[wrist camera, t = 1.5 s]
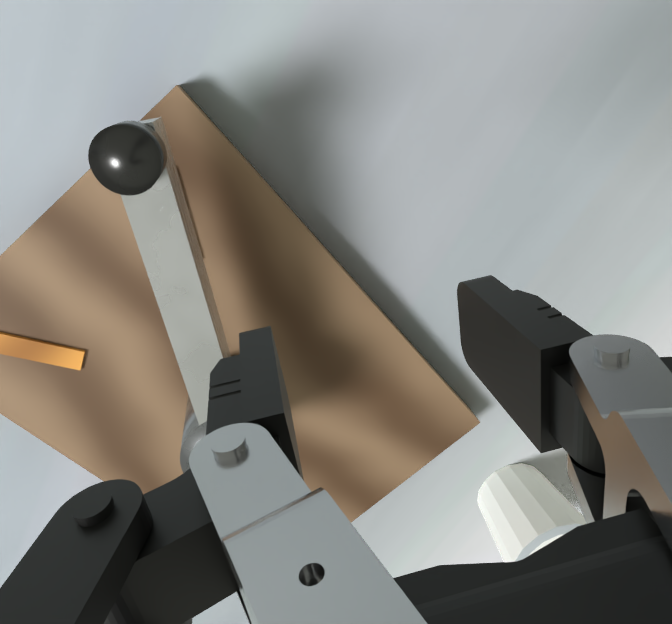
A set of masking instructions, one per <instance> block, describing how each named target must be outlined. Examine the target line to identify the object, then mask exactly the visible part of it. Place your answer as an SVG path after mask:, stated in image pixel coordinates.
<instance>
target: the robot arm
mask: <svg viewBox="0 0 672 624" xmlns="http://www.w3.org/2000/svg"><path fill="white" fill-rule="evenodd" d="M457 297H458V310H459V323H460V336H461V346H462V350H463V354H464V357H465V359H466V362H467V364H468V365H469V367H470V368H471V369H472V371H473V372H474V373H475V374H476V375H477V377H478V378H479V379H480V380H481V381H482V383H483V384H484V385H485V386H486V387H487V389H488V390H489V391H490V392H491V393H492V395H493V396H494V397H495V398H496V399H497V401H498V402H499V403H500V404H501V406H502V407H503V408H504V409H505V410H506V412H507V413H508V414H509V415H510V416H511V418H512V419H513V420H514V421H515V422H516V424H517V425H518V426H519V427H520V428H521V430H522V431H523V432H524V433H525V434H526V436H527V437H528V438H529V439H530V440H531V442H532V443H533V444H534V445H535V447H536V448H537V449H538V450H539V451H540V453H544V452H547V451H551V450H555V449H559V448H562V447H563V448H564V449H565V450H566V451H567V473H568V476H569V479H570V481H571V484H572V487H573V489H574V492H575V495H576V497H577V500H578V503H579V506H580V508H581V511H582V514H583V516H584V519H585V522H586V524H584V525H581V526H577V527H576V528H574V529H572V530H571V531H569V532H567V533H566V534H564V535H562V536H561V537H559V538H557V539H556V540H554V541H553V542H551V543H549V544H548V545H546V546H544V547H543V548H541V549H539V550H538V551H536V552H534V553H533V554H531V555H529V556H528V557H526V558H524V559H522V560H519V561H515V562H501V563H479V564H457V565H439V566H435V567H432V568H428V569H425V570H421V571H418V572H414V573H410V574H407V575H403V576H400V577H396V578H392V576H391V575H390V574H389V572H388V571H387V570H386V568H385V567H384V566H383V564H382V563H381V562H380V561H379V559H378V558H377V557H376V555H375V554H374V553H373V551H372V550H371V549H370V547H369V546H368V545H367V543H366V542H365V541H364V539H363V538H362V537H361V535H360V534H359V533H358V532H357V530H356V529H355V528H354V526H353V525H352V524H351V522H350V521H349V520H348V518H347V517H346V516H345V514H344V513H343V512H342V510H341V509H340V508H339V506H338V505H337V504H336V503H335V501H334V500H333V499H332V497H331V496H330V495H329V494H328V492H327V491H326V490H325V489H323V488H321V487H320V488H318V489H316V490H314V491H312V492H311V490H310V489H309V488H308V486H307V485H306V483H305V482H304V479H303V474H302V468H301V463H300V457H299V452H298V446H297V441H296V435H295V430H294V424H293V419H292V413H291V408H290V403H289V398H288V394H287V390H286V385H285V381H284V377H283V373H282V369H281V365H280V361H279V357H278V353H277V349H276V345H275V341H274V337H273V333H272V329H271V326H267V327H263V328H258V329H254V330H250V331H245V332H241V333H239V350H240V355H235V356H231V357H227V358H223V359H220V360H219V362H218V363H217V364H216V366H215V367H214V368H213V370H212V371H211V373H210V383H209V387H210V389H209V401H208V412H207V426H206V436H205V437H204V438H202V439H201V440H200V441H199V442H198V443H197V444H196V445H195V447H194V448H193V450H192V452H191V454H190V457H189V465H190V469H188V470H187V471H186V472H185V473H183V474H182V475H180V476H179V477H177V478H176V479H174V480H172V481H170V482H168V483H166V484H164V485H162V486H160V487H158V488H156V489H154V490H151V491H149V492H147V493H145V494H143V493H142V491H141V489H140V487H139V486H138V485H137V484H136V483H135V482H132V481H130V480H125V479H115V480H108V481H104V482H101V483H98V484H95V485H93V486H91V487H88V488H86V489H84V490H83V491H81V492H79V493H78V494H76V495H75V496H73V497H72V498H71V499H69V500H68V501H67V502H66V503H65V504H64V505H62V506H61V507H60V508H59V510H58V511H57V512H56V513H55V515H54V516H53V517H52V519H51V520H50V521H49V523H48V524H47V525H46V527H45V528H44V529H43V531H42V532H41V534H40V535H39V536H38V538H37V539H36V540H35V542H34V543H33V544H32V546H31V547H30V549H29V550H28V551H27V553H26V554H25V555H24V557H23V558H22V559H21V561H20V562H19V564H18V565H17V566H16V568H15V569H14V570H13V572H12V573H11V574H10V576H9V577H8V579H7V580H6V581H5V583H4V584H3V585H2V587H1V588H0V624H192V618H193V617H194V616H196V615H198V614H199V613H201V612H203V611H204V610H206V609H208V608H210V607H211V606H213V605H215V604H216V603H218V602H220V601H221V600H223V599H225V598H226V597H228V596H230V595H231V594H233V593H235V592H236V593H237V596H238V598H239V601H240V603H241V605H242V608H243V610H244V613H245V615H246V618H247V620H248V623H249V624H672V357H658V355H657V354H656V353H655V352H654V350H653V349H652V348H651V347H650V346H648V345H647V344H645V343H643V342H641V341H639V340H636V339H633V338H630V337H625V336H620V335H592V334H590V333H589V332H588V331H586V330H585V329H583V328H582V327H581V326H579V325H578V324H576V323H575V322H573V321H572V320H571V319H569V318H568V317H566V316H565V315H563V316H562V313H561V312H559V311H558V310H556V309H555V308H554V307H552V308H551V305H549V304H548V303H547V302H545V301H544V300H542V299H541V298H540V297H538V296H536V295H533V294H529V293H526V292H523V291H520V290H514V291H512V290H511V289H509V288H508V287H507V286H505V285H504V284H503V283H501V282H500V281H499V280H497V279H496V278H495V277H493V276H491V275H490V276H485V277H481V278H477V279H472V280H468V281H464V282H460V283H459V285H458V289H457Z"/></svg>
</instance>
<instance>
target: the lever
mask: <svg viewBox="0 0 672 624" xmlns="http://www.w3.org/2000/svg"><path fill="white" fill-rule="evenodd" d="M88 156H89V164H90V168H91V170H92V172H93V174H94V176H95V177H96V179H97V180H98V181H99V182H100V183H101V184H102V185H103V186H104V187H105V188H107V189H108V190H110V191H112V192H114V193H117V194H120V195H121V198H122V201H123V204H124V207H125V210H126V213H127V215H128V218H129V221H130V224H131V227H132V230H133V233H134V236H135V239H136V242H137V245H138V248H139V251H140V254H141V256H142V259H143V262H144V265H145V268H146V271H147V274H148V277H149V280H150V283H151V286H152V289H153V292H154V295H155V298H156V300H157V303H158V306H159V309H160V312H161V315H162V318H163V321H164V324H165V327H166V330H167V333H168V336H169V339H170V341H171V344H172V347H173V350H174V353H175V356H176V359H177V362H178V365H179V368H180V371H181V374H182V377H183V380H184V382H185V385H186V388H187V391H188V399H187V407H186V414H185V422H184V429H183V436H182V444H181V451H180V465H181V468H182V471H183V473H185V472H186V471H187V470H188V469H190V465H189V457H190V454H191V452H192V450H193V448H194V447H195V445H196V444H197V443H198V442H199V441H200V440H201V439H202V438H204V437H205V436H206V426H207V412H208V401H209V389H210V387H209V383H210V373H211V371H212V370H213V368H214V367H215V366H216V364H217V363H218V362H219V360H220V359H223V358H227V357H231V354H230V350H229V347H228V343H227V340H226V337H225V333H224V330H223V326H222V323H221V319H220V316H219V312H218V309H217V305H216V302H215V299H214V295H213V292H212V288H211V285H210V281H209V278H208V274H207V271H206V268H205V264H204V261H203V257H202V254H201V250H200V247H199V243H198V240H197V237H196V233H195V230H194V226H193V223H192V219H191V216H190V212H189V209H188V205H187V202H186V199H185V195H184V192H183V188H182V185H181V181H180V178H179V174H178V171H177V168H176V164H175V161H174V157H173V154H172V150H171V147H170V143H169V140H168V136H167V133H166V130H165V126H164V123H163V119H162V117H158V118H153V119H148V120H143V121H137V122H136V121H124V122H120V123H117V124H115V125H112V126H110V127H107V128H105V129H103V130H102V131H100V132H99V133H98V134H97V135H96V136H95V137H94V139H93V140H92V142H91V145H90V148H89V154H88Z"/></svg>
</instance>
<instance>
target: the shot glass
mask: <svg viewBox="0 0 672 624" xmlns="http://www.w3.org/2000/svg"><path fill="white" fill-rule="evenodd" d="M477 503H478V505H479V508H480V510H481V512H482V514H483V517H484V519H485V521H486V523H487V526H488V528H489V530H490V532H491V535H492V537H493V539H494V541H495V544H496V546H497V548H498V550H499V552H500V555H501V557H502V559H503V561H504V562H515V561H519V560H522V559H524V558H526V557H528V556H529V555H531V554H533V553H534V552H536V551H538V550H539V549H541V548H543V547H544V546H546V545H548V544H549V543H551V542H553V541H554V540H556V539H557V538H559V537H561V536H562V535H564V534H566V533H567V532H569V531H571V530H572V529H574V528H576V527H577V526H581V525H584V524H586V522H585V519H584V516H583V515H582V514H581V513H580V512H579V511H578V510H577V509H576V508H575V507H574V506H573V505H572V504H571V503H570V502H569V501H568V500H567V499H566V498H565V497H564V496H563V495H562V494H561V493H560V492H559V491H558V490H557V489H556V488H555V486H554V485H553V484H552V483H551V482H550V481H549V480H548V479H547V478H546V477H545V476H544V475H543V474H542V473H541V472H540V471H538V470H537V469H536V468H535V467H534V466H532V465H527V464H523V463H519V464H512V465H507V466H505V467H503V468H501V469H499V470H497V471H495V472H494V473H493V474H491V475H490V476H489V477H488V478H487V479H486V480H485V481H484V483H483V485H482V486H481V488H480V490H479V492H478V500H477Z"/></svg>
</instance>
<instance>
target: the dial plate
mask: <svg viewBox="0 0 672 624" xmlns="http://www.w3.org/2000/svg"><path fill="white" fill-rule="evenodd" d="M158 117H162V119H163V123H164V126H165V130H166V133H167V136H168V140H169V143H170V147H171V150H172V154H173V157H174V161H175V164H176V168H177V171H178V174H179V178H180V181H181V185H182V188H183V192H184V195H185V199H186V202H187V205H188V209H189V212H190V216H191V219H192V223H193V226H194V230H195V233H196V237H197V240H198V243H199V247H200V250H201V254H202V257H203V261H204V264H205V268H206V271H207V274H208V278H209V281H210V285H211V288H212V292H213V295H214V299H215V302H216V305H217V309H218V312H219V316H220V319H221V323H222V326H223V330H224V333H225V337H226V340H227V343H228V347H229V350H230V354H231V356H235V355H240V350H239V333H241V332H245V331H250V330H254V329H258V328H263V327H267V326H271V329H272V333H273V337H274V341H275V345H276V349H277V353H278V357H279V361H280V365H281V369H282V373H283V377H284V381H285V385H286V390H287V394H288V398H289V403H290V408H291V413H292V419H293V424H294V430H295V435H296V441H297V446H298V452H299V457H300V463H301V468H302V474H303V479H304V482H305V483H306V485H307V486H308V488H309V489H310V490H311V492H312V491H314V490H316V489H318V488H320V487H321V488H323V489H325V490H326V491H327V492H328V494H329V495H330V496H331V497H332V499H333V500H334V501H335V503H336V504H337V505H338V506H339V508H340V509H341V510H342V512H343V513H344V514H345V516H346V517H347V518H348V520H349V521H350V522H352V521H354V520H355V519H356V518H358V517H359V516H360V515H361V514H363V513H364V512H365V511H367V510H368V509H369V508H370V507H372V506H373V505H374V504H376V503H377V502H378V501H379V500H381V499H382V498H383V497H385V496H386V495H387V494H389V493H390V492H391V491H392V490H394V489H395V488H396V487H398V486H399V485H400V484H401V483H403V482H404V481H405V480H407V479H408V478H409V477H410V476H412V475H413V474H414V473H416V472H417V471H418V470H420V469H421V468H422V467H423V466H425V465H426V464H427V463H429V462H430V461H431V460H432V459H434V458H435V457H436V456H438V455H439V454H440V453H442V452H443V451H444V450H445V449H447V448H448V447H449V446H451V445H452V444H453V443H454V442H456V441H457V440H458V439H460V438H461V437H462V436H463V435H465V434H466V433H467V432H469V431H470V430H471V429H473V428H474V427H475V426H476V425H478V424H479V423H480V422H479V420H478V419H477V417H476V416H475V415H474V413H473V412H472V411H471V409H470V408H469V407H468V406H467V405H466V404H465V403H464V402H463V401H462V399H461V398H460V397H459V396H458V395H457V394H456V393H455V392H454V390H453V389H452V388H451V387H450V386H449V385H448V384H447V383H446V382H445V380H444V379H443V378H442V377H441V376H440V375H439V374H438V373H437V372H436V370H435V369H434V368H433V367H432V366H431V365H430V364H429V363H428V362H427V360H426V359H425V358H424V357H423V356H422V355H421V354H420V353H419V351H418V350H417V349H416V348H415V347H414V346H413V345H412V344H411V343H410V341H409V340H408V339H407V338H406V337H405V336H404V335H403V334H402V333H401V331H400V330H399V329H398V328H397V327H396V326H395V325H394V324H393V323H392V321H391V320H390V319H389V318H388V317H387V316H386V315H385V314H384V312H383V311H382V310H381V309H380V308H379V307H378V306H377V305H376V304H375V302H374V301H373V300H372V299H371V298H370V297H369V296H368V295H367V294H366V292H365V291H364V290H363V289H362V288H361V287H360V286H359V285H358V283H357V282H356V281H355V280H354V279H353V278H352V277H351V276H350V275H349V273H348V272H347V271H346V270H345V269H344V268H343V267H342V266H341V265H340V263H339V262H338V261H337V260H336V259H335V258H334V257H333V256H332V255H331V253H330V252H329V251H328V250H327V249H326V248H325V247H324V246H323V244H322V243H321V242H320V241H319V240H318V239H317V238H316V237H315V236H314V234H313V233H312V232H311V231H310V230H309V229H308V228H307V227H306V226H305V224H304V223H303V222H302V221H301V220H300V219H299V218H298V217H297V215H296V214H295V213H294V212H293V211H292V210H291V209H290V208H289V207H288V205H287V204H286V203H285V202H284V201H283V200H282V199H281V198H280V197H279V195H278V194H277V193H276V192H275V191H274V190H273V189H272V188H271V187H270V185H269V184H268V183H267V182H266V181H265V180H264V179H263V178H262V176H261V175H260V174H259V173H258V172H257V171H256V170H255V169H254V168H253V166H252V165H251V164H250V163H249V162H248V161H247V160H246V159H245V158H244V156H243V155H242V154H241V153H240V152H239V151H238V150H237V149H236V147H235V146H234V145H233V144H232V143H231V142H230V141H229V140H228V139H227V137H226V136H225V135H224V134H223V133H222V132H221V131H220V130H219V129H218V127H217V126H216V125H215V124H214V123H213V122H212V121H211V120H210V119H209V117H208V116H207V115H206V114H205V113H204V112H203V111H202V110H201V108H200V107H199V106H198V105H197V104H196V103H195V102H194V101H193V100H192V98H191V97H190V96H189V95H188V94H187V93H186V92H185V91H184V90H183V88H182V87H181V86H180V85H176V86H175V87H174V88H173V89H172V90H171V91H170V92H169V93H168V94H167V95H166V96H165V97H164V98H163V99H162V100H161V101H160V102H159V103H158V104H157V105H156V106H155V107H154V108H152V109H151V110H150V111H149V112H148V113H147V114H146V115H145V116H144V117H143V118H142V119H141V120H140V121H143V120H148V119H153V118H158ZM187 399H188V391H187V388H186V385H185V382H184V380H183V377H182V374H181V371H180V368H179V365H178V362H177V359H176V356H175V353H174V350H173V347H172V344H171V341H170V339H169V336H168V333H167V330H166V327H165V324H164V321H163V318H162V315H161V312H160V309H159V306H158V303H157V300H156V298H155V295H154V292H153V289H152V286H151V283H150V280H149V277H148V274H147V271H146V268H145V265H144V262H143V259H142V256H141V254H140V251H139V248H138V245H137V242H136V239H135V236H134V233H133V230H132V227H131V224H130V221H129V218H128V215H127V213H126V210H125V207H124V204H123V201H122V198H121V195H120V194H117V193H114V192H112V191H110V190H108V189H107V188H105V187H104V186H103V185H102V184H101V183H100V182H99V181H98V180H97V179H96V177H95V176H94V174H93V172H92V170H91V168H90V169H89V170H88V171H87V172H86V173H85V174H84V175H83V176H82V177H81V178H80V179H79V180H78V181H77V182H76V183H75V184H74V185H73V186H72V187H71V188H70V189H69V190H68V191H67V192H66V193H65V194H64V195H63V196H62V197H60V198H59V199H58V200H57V201H56V202H55V203H54V204H53V205H52V206H51V207H50V208H49V209H48V210H47V211H46V212H45V213H44V214H43V215H42V216H41V217H40V218H39V219H38V220H37V221H36V222H35V223H34V224H33V225H32V226H31V227H29V228H28V229H27V230H26V231H25V232H24V233H23V234H22V235H21V236H20V237H19V238H18V239H17V240H16V241H15V242H14V243H13V244H12V245H11V246H10V247H9V248H8V249H7V250H6V251H5V252H4V253H3V254H2V255H1V256H0V414H2V415H3V416H5V417H7V418H8V419H10V420H11V421H13V422H14V423H16V424H17V425H19V426H20V427H22V428H23V429H25V430H26V431H28V432H29V433H31V434H32V435H34V436H36V437H37V438H39V439H40V440H42V441H43V442H45V443H46V444H48V445H49V446H51V447H52V448H54V449H55V450H57V451H58V452H60V453H61V454H63V455H65V456H66V457H68V458H69V459H71V460H72V461H74V462H75V463H77V464H78V465H80V466H81V467H83V468H84V469H86V470H87V471H89V472H90V473H92V474H94V475H95V476H97V477H98V478H100V479H101V480H103V481H108V480H115V479H125V480H130V481H132V482H135V483H136V484H137V485H138V486H139V487H140V489H141V491H142V493H143V494H145V493H147V492H149V491H151V490H154V489H156V488H158V487H160V486H162V485H164V484H166V483H168V482H170V481H172V480H174V479H176V478H177V477H179V476H180V475H182V474H183V471H182V468H181V465H180V451H181V444H182V436H183V429H184V422H185V414H186V407H187Z"/></svg>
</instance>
